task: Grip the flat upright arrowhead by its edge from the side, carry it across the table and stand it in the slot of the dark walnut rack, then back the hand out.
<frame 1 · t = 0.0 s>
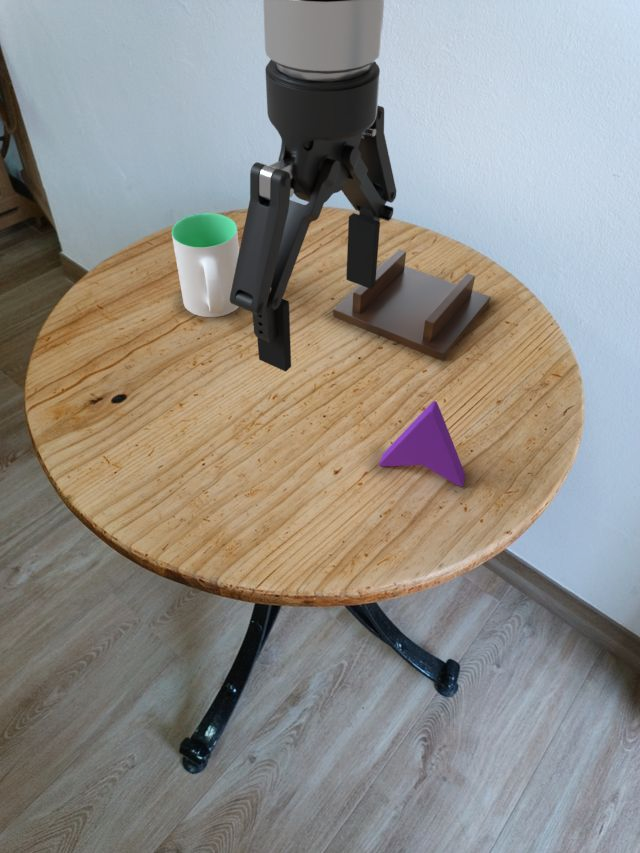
hand: (320, 320, 60), 18 cm above the table, tool pointing down, fingers open, 13 cm apart
rack: (411, 310, 91), on the table
mug: (216, 308, 92), on the table
arrowhead: (421, 472, 73), on the table
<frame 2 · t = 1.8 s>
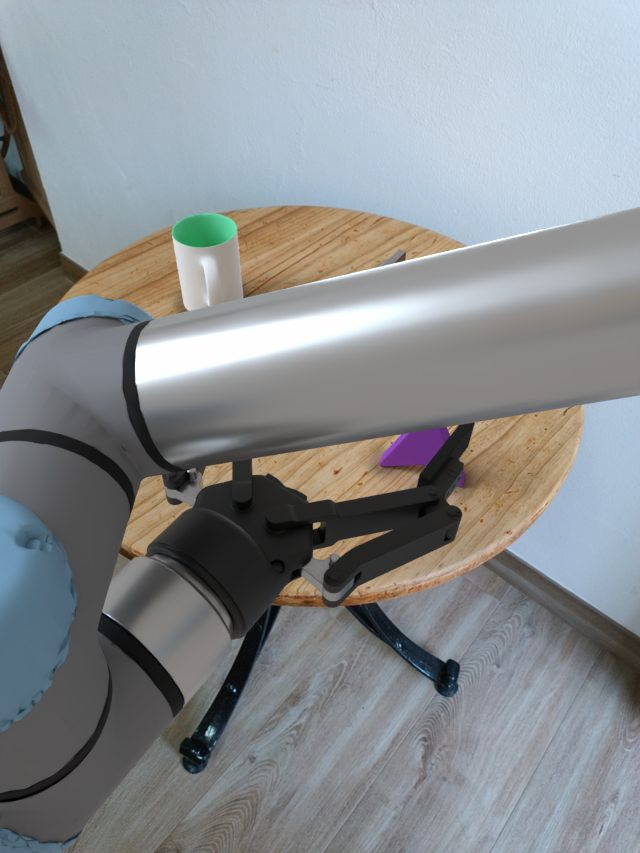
hand: (385, 390, 51), 21 cm above the table, tool horizontal, fingers open, 13 cm apart
nothing on the table moved.
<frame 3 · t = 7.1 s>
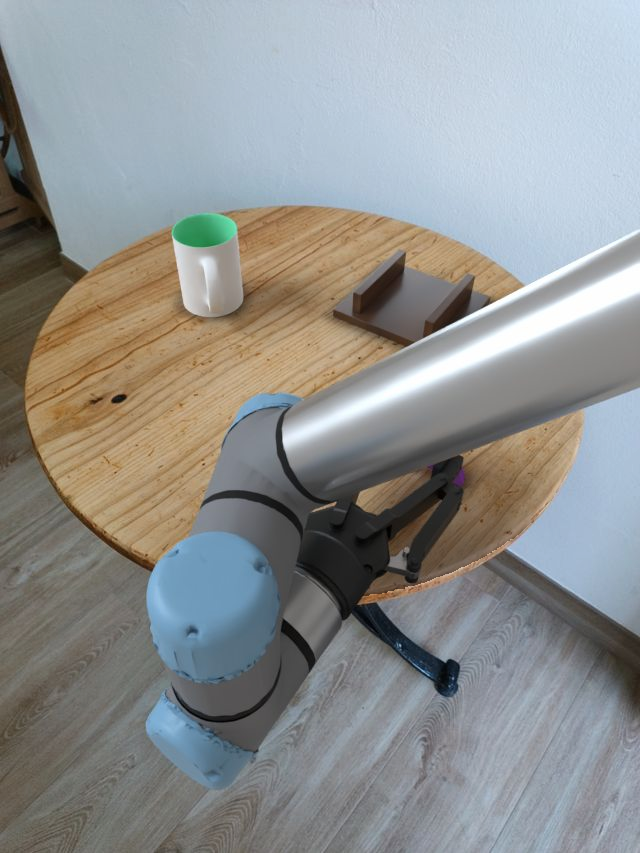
hand: (436, 422, 69), 6 cm above the table, tool horizontal, fingers closed on arrowhead, 5 cm apart
arrowhead: (421, 472, 73), on the table, touching gripper
everything else where it was.
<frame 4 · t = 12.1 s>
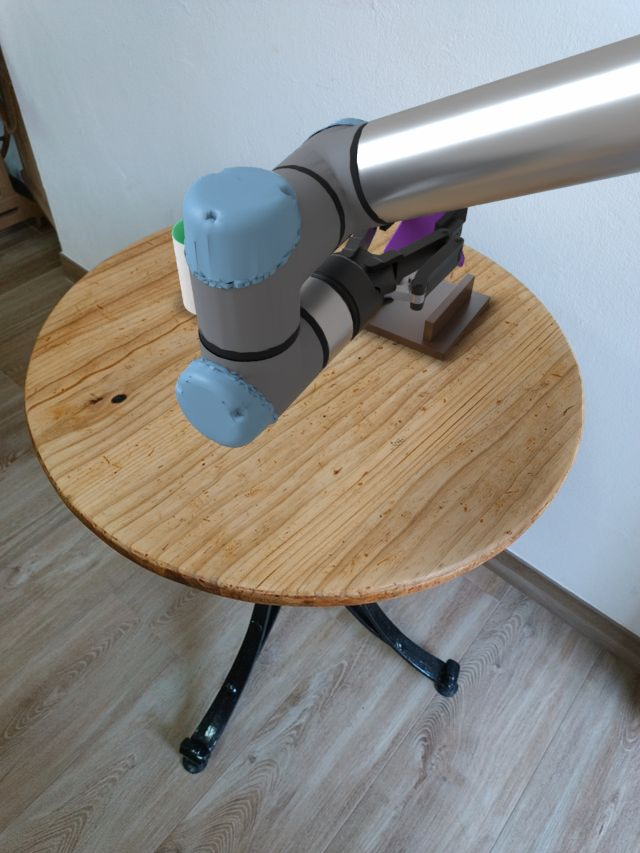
hand: (437, 200, 73), 19 cm above the table, tool horizontal, fingers closed on arrowhead, 5 cm apart
arrowhead: (423, 258, 77), point 13 cm above the table, touching gripper
everything else where it was.
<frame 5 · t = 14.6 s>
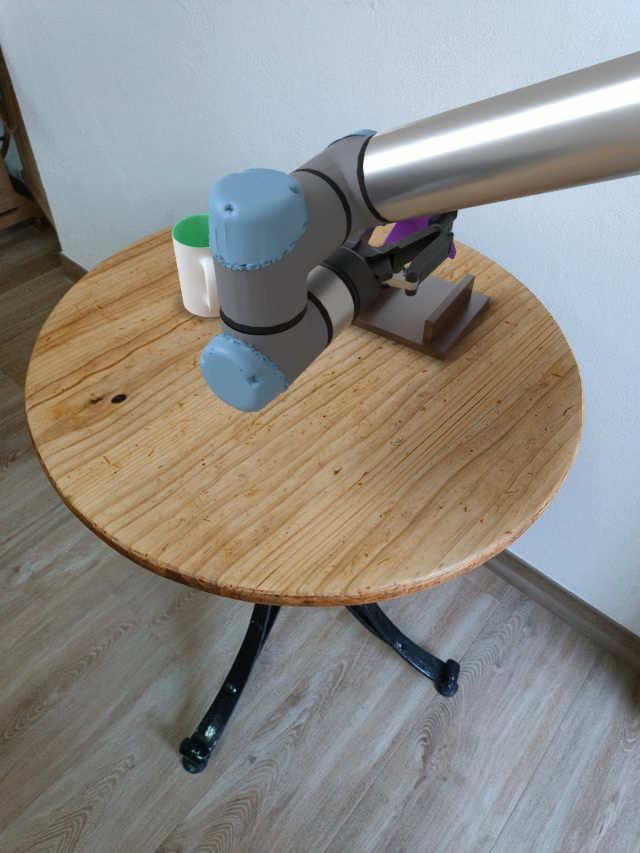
hand: (431, 199, 81), 15 cm above the table, tool horizontal, fingers closed on arrowhead, 5 cm apart
arrowhead: (418, 251, 85), point 9 cm above the table, touching gripper
everything else where it was.
when the fingers open (9 cm above the table, at t = 17.0 s): arrowhead stays where it is, resting on rack.
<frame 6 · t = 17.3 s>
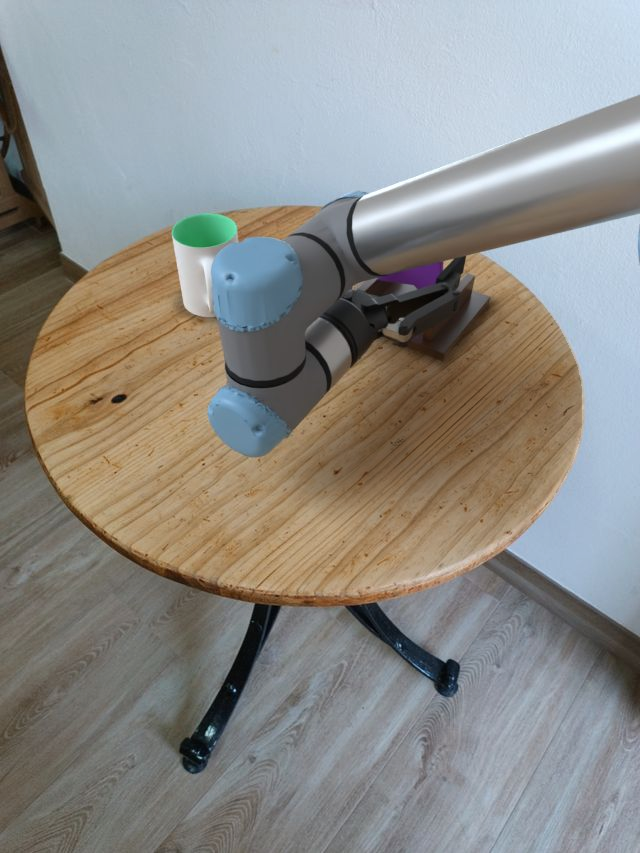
hand: (422, 248, 85), 9 cm above the table, tool horizontal, fingers open, 10 cm apart
arrowhead: (408, 292, 90), point 3 cm above the table, touching rack
everything else where it was.
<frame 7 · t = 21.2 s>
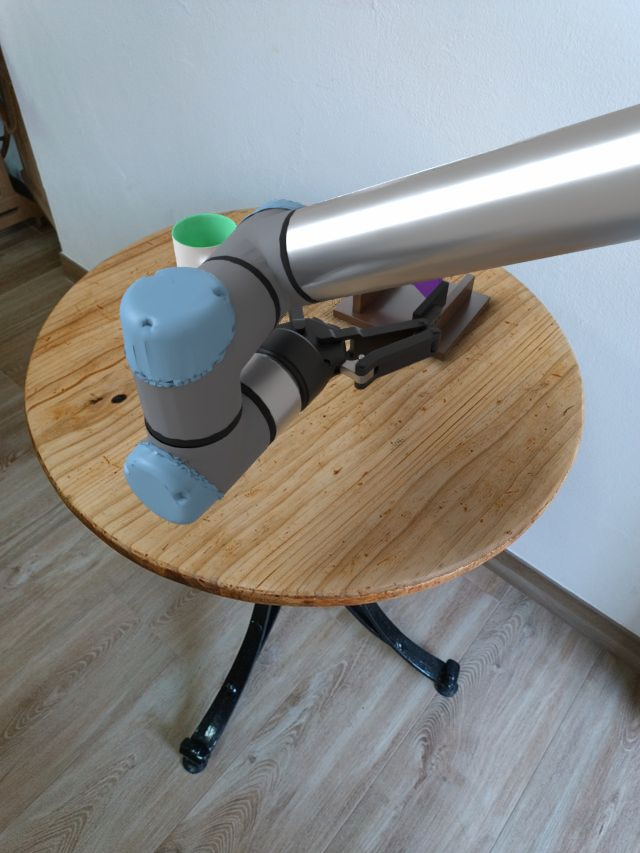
hand: (387, 271, 74), 13 cm above the table, tool horizontal, fingers open, 13 cm apart
nothing on the table moved.
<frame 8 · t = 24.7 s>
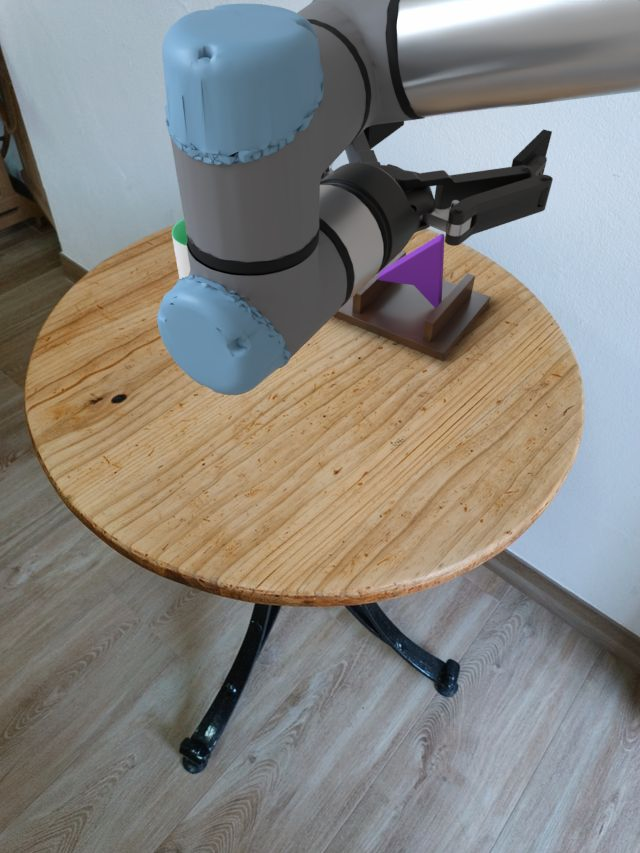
hand: (469, 126, 60), 30 cm above the table, tool horizontal, fingers open, 13 cm apart
nothing on the table moved.
at the end: arrowhead inside the target area on the rack (0.8 cm from its centre), point 2.6 cm above the rack's base; arrowhead tilted 20°; the gripper is holding nothing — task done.
